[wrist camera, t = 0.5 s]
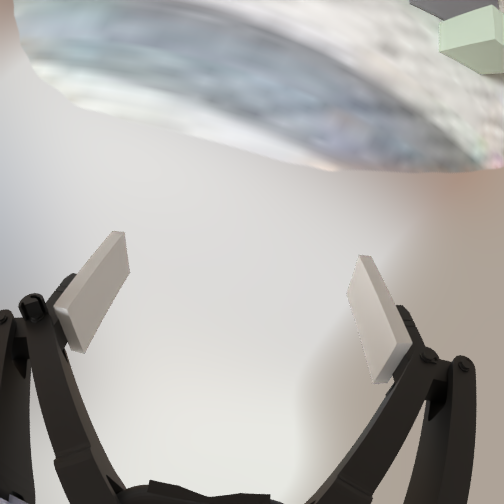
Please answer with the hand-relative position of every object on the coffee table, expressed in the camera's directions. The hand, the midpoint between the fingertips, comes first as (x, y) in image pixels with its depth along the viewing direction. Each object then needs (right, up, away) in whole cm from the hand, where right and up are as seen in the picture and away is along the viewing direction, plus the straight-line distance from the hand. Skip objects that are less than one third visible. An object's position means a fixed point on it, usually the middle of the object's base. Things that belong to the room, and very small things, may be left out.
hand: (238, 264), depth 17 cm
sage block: (+36, +35, +16) cm, 52 cm away
